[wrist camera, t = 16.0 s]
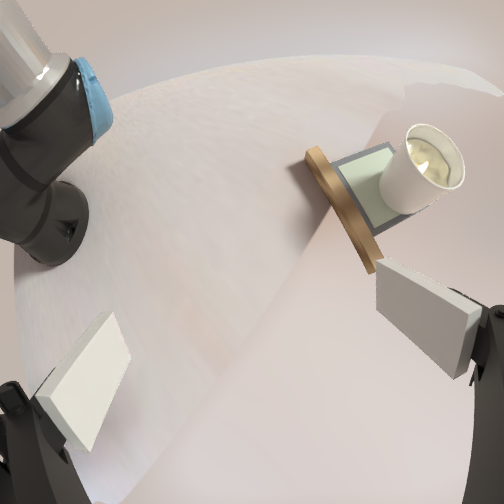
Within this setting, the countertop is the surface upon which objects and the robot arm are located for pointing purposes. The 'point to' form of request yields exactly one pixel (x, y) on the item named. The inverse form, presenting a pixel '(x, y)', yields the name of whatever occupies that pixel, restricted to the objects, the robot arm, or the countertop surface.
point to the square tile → (369, 186)
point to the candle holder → (421, 170)
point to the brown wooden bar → (344, 208)
